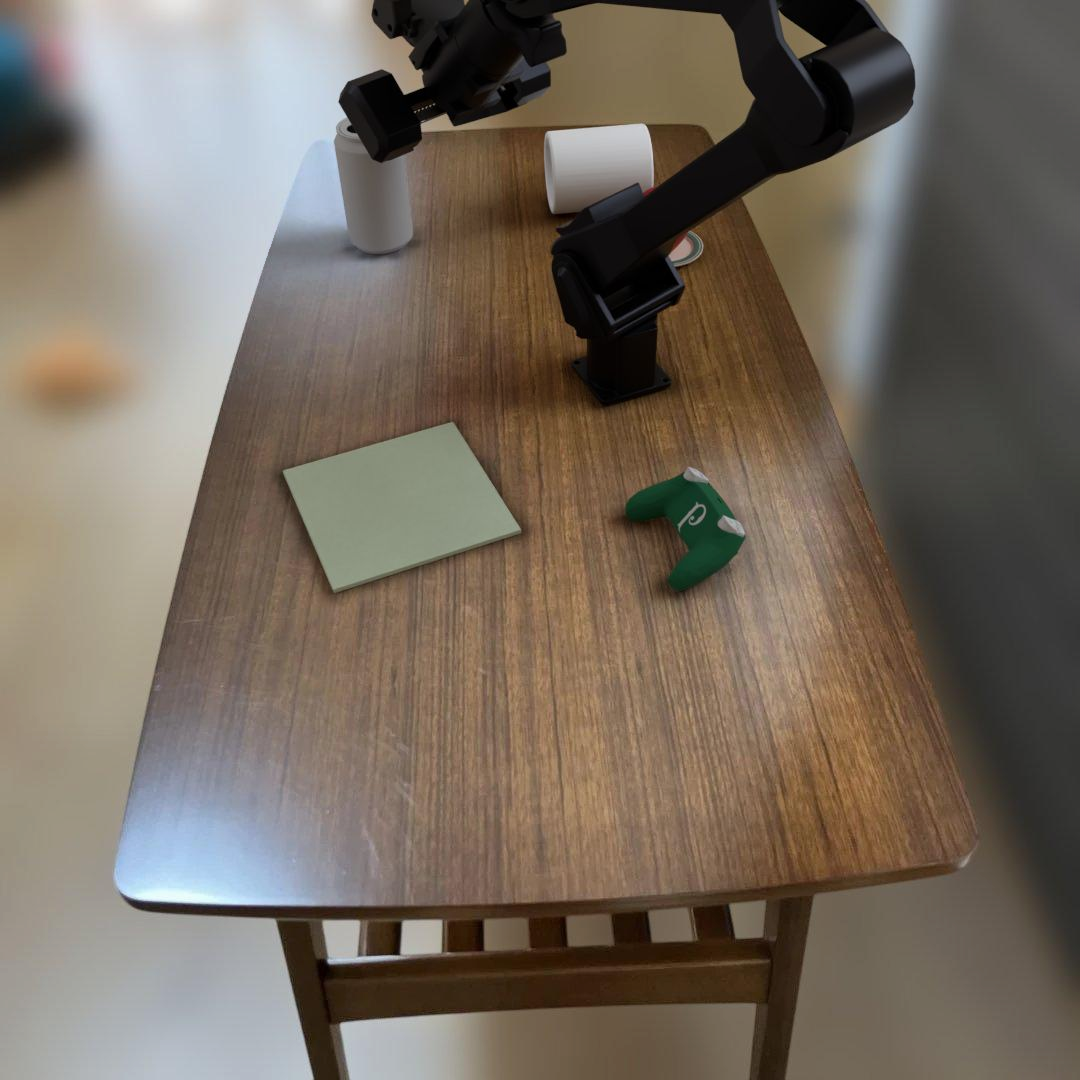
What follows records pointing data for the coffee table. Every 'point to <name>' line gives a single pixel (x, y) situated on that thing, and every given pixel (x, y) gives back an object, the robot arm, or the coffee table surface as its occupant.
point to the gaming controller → (691, 524)
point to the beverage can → (372, 195)
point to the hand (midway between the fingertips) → (412, 137)
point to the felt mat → (397, 505)
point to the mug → (595, 164)
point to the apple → (684, 246)
